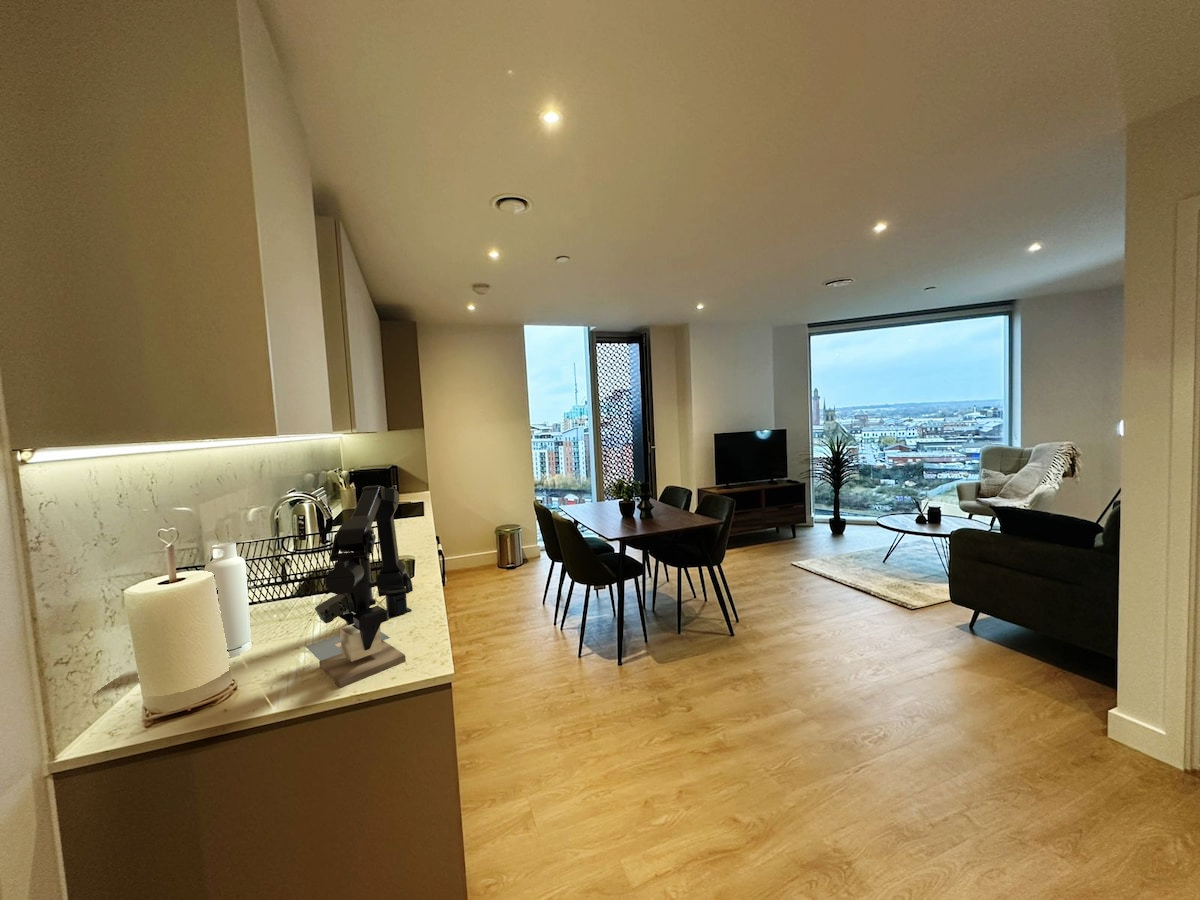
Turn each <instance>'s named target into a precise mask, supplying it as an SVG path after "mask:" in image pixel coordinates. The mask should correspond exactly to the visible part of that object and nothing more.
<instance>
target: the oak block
mask: <svg viewBox="0 0 1200 900" xmlns="http://www.w3.org/2000/svg"><path fill="white" fill-rule="evenodd" d="M352 625H354V624H351V625H348V626H347V625H345V626H342V627H339V635H341V650H342V654H343V655H344V656H345V657H347V658H348V659H349V660H350V661H351V662H352V661H355V660H358V659H360V658H363V657H366V656H368V655H371V654H374V653H376V652H379V651H382V648H381V632H382V631H381V626H380V627H379V629H378V631H377V633H376V636H375V638H374V640H373V643H372V645H371V648H370V649H369V650H364V647H363V643H362V639H361V635H360V631H359V630H358V629H356V628H355V627H353V626H352Z"/></svg>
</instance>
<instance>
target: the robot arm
mask: <svg viewBox="0 0 1200 900" xmlns="http://www.w3.org/2000/svg"><path fill="white" fill-rule="evenodd" d="M399 503H400V493H399V491H398V490H396V489H395V488H394V487H385V486H383V485H368V486H367V485H366V486H364V487H362V488H361V491H360V498H359V500H358V502H357V505H356V507H355V509H354V512H353V514H352V515H351V517H350V519H348V520H346V521H345V522H343V523H342V524H341V525H340V527H338V530H337V532H336V533H335V534H334V537H333V542H332V547H331V553H330V558H329V562H335V563H334V568H333V569H332V570H330V571H329V573H327V575H326V577H325V578H326V579H325V583H324V584H325V587H326V589H327V590H328V591H329V592H330V593H332V594H334V595H333V596H331V597H330V598H328V599H326V600H324V601H323V602H321V603H319V604H318V605H317V606H316V607H314V610H315V612H316V613H317V615H318V617H319V619H320V621H322V622H323V623H324V624H329V623H331V622H333V621H334V620H335V619H336V618H337V617H339V618H340V619H342V620H344V621H345V622H346V626H348V625H351V624H354V625H352V626H353V627H355V628H356V629H358V630H359V631H360V635H361V639H362V643H363V647H364V650H369V649H370V648H371V645H372V643H373V640H374V638H375V636H376V633H377V631H378V629H379V627H380V628H381V625H382V623H385V622H387V621H389V618H390V619H393V618H395V617H399V616H401V615H405V614H407V613H411V612H413V610H412V609H411V608H409V607H408V602H407V594H410V593H412V592H413V591H414V590H413V589H414V588H413V587H414V586H413V581H412V579H411V576H410V574H409V573H408V572H407V566H406V565H405V564H404V563H403V562H402V561H401V560H400V557H399V549H398V542H397V534H396V533H397V532H396V526H395V525H396V524H395V519H394V518H395V517H394V514H395V512H396V511H397V509H398V506H399ZM374 521H376V528H377V536H378V542H379V551H380V557H381V564H382V567H381V568H380V570H379V572H378V574H377V578H376V583H375V582H374V581H372V575H371V574H372V573H371V558H370V556H371V554H373V552H374V548H375V542H376V539H377V538H376V537H377V536H376V534H375V531H374V530H373V526H372V525H373V523H374ZM375 584H376V585H375ZM375 587H376V588H377V592H378V598H379V597H380V598H382V597H385V607H386V609H385V608H383V607H381V606H380V605H376V604H377V603H376V602H377V601H376V599H374V598H373V590H372V588H375ZM371 606H372V607H371Z"/></svg>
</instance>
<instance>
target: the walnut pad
mask: <svg viewBox="0 0 1200 900" xmlns="http://www.w3.org/2000/svg"><path fill="white" fill-rule="evenodd" d="M381 648H382V651H379V652H376V653H374V654H371V655H368V656H366V657H363V658H360V659H358V660H355V661H352V662H351V661H350V660H349V659H348V658H347V657H345V656H344V655H343V654H342V653H341V654H338V655H336V656H333V657H330V658H327V659H324V660H322V661H320V660H318V661H319V667H320V669H321V670H322V671H323V672H324V673H325V674H327V676H328V677H329V678H330V679H331V680H332V681H334V684H336V686H337V687H338V688H339V689H341V688H344V687H347V686H349V685H352V684H353V683H357V682H359V681H361V680H364V679H366V678H368V677H371V676H372V675H375V674H378V673H381V672H383V671H386V670H388V669H391V668H392V667H395V666H397V665H400V664H403V663H405V662H406V661H407V660H406V655H405V653H404V652H403V653H402V652H401V651H400V650H398V649H397V648H395V647H394V646H392V645H391V644H389V643H388V642H386V641H385V640H382V639H381Z"/></svg>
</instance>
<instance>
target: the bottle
mask: <svg viewBox="0 0 1200 900" xmlns="http://www.w3.org/2000/svg"><path fill="white" fill-rule="evenodd" d="M211 554H212V555H211V556H212V560H211V561H209V562H208V563H206V564H205V566H204V572H205V571H208V572H212V573H213V574H214V575H215V580H216V584H217V590H218V598H219V604H220V611H221V617H222V622H223V628H224V633H225V638H226V643H227V648H228V652H229V656H230V658H229V659H232V658H235V657H238V656H240V655H241V654H244V653H245V652H247V651H249V650H250V649H252V646H253V644H252V640H251V639H252V631H251V618H250V617H251V616H250V604H249V590H248V577H247V576H248V575H247V564H246V563H247V561H246V560H245V559H244V558H243V557H242V556H238V555H237V554H238V553H237V543H236V542H224V543H218V544H214V545H212V546H211Z"/></svg>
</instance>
